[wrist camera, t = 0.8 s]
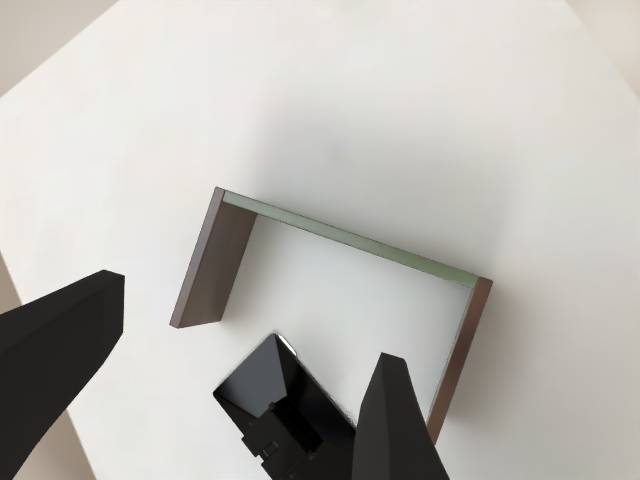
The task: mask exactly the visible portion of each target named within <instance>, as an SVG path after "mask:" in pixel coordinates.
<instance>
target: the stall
mask: <svg viewBox="0 0 640 480" xmlns="http://www.w3.org/2000/svg"><path fill="white" fill-rule="evenodd" d="M257 214H260V215H263V216H266V217H269V218H272V219H275V220H277V221H280V222H283V223H286V224H289V225H292V226H295V227H297V228H300V229H303V230H306V231H309V232H312V233H315V234H317V235H320V236H323V237H326V238H329V239H332V240H335V241H337V242H340V243H343V244H346V245H349V246H352V247H355V248H357V249H360V250H363V251H366V252H369V253H372V254H375V255H377V256H380V257H383V258H386V259H389V260H392V261H395V262H398V263H400V264H403V265H406V266H409V267H412V268H415V269H418V270H420V271H423V272H426V273H429V274H432V275H435V276H438V277H440V278H443V279H446V280H449V281H452V282H455V283H458V284H460V285H463V286H466V287H469V288H472V291H471V294H470V297H469V300H468V303H467V306H466V308H465V311H464V314H463V317H462V320H461V323H460V325H459V328H458V331H457V334H456V337H455V340H454V342H453V345H452V348H451V351H450V354H449V357H448V359H447V362H446V365H445V368H444V371H443V373H442V376H441V379H440V382H439V385H438V388H437V390H436V393H435V396H434V399H433V402H432V405H431V407H430V410H429V414H428V417H427V421H426V426H427V429H428V432H429V434H430V437H431V439H432V441H433V444H434V445H435V444H436V442H437V439H438V436H439V433H440V430H441V428H442V425H443V422H444V419H445V416H446V414H447V411H448V408H449V405H450V402H451V399H452V397H453V394H454V391H455V388H456V385H457V383H458V380H459V377H460V374H461V371H462V368H463V366H464V363H465V360H466V357H467V354H468V351H469V349H470V346H471V343H472V340H473V337H474V335H475V332H476V329H477V326H478V323H479V320H480V318H481V315H482V312H483V309H484V306H485V303H486V301H487V298H488V295H489V292H490V289H491V287H492V284H493V281H492V280H489V279H486V278H483V277H479V276H477V275H474V274H471V273H468V272H466V271H463V270H460V269H457V268H454V267H451V266H448V265H445V264H442V263H439V262H436V261H433V260H430V259H427V258H424V257H422V256H419V255H416V254H413V253H410V252H407V251H404V250H401V249H398V248H395V247H392V246H389V245H386V244H383V243H380V242H378V241H375V240H372V239H369V238H366V237H363V236H360V235H357V234H354V233H351V232H348V231H345V230H342V229H339V228H336V227H334V226H331V225H328V224H325V223H322V222H319V221H316V220H313V219H310V218H307V217H304V216H301V215H298V214H295V213H292V212H290V211H287V210H284V209H281V208H278V207H275V206H272V205H269V204H266V203H263V202H260V201H257V200H254V199H251V198H248V197H246V196H243V195H240V194H237V193H234V192H231V191H228V190H225V189H222V188H219V187H215V190H214V193H213V196H212V199H211V202H210V205H209V208H208V211H207V214H206V217H205V220H204V223H203V226H202V229H201V232H200V235H199V238H198V241H197V243H196V246H195V249H194V252H193V255H192V258H191V261H190V264H189V267H188V270H187V273H186V276H185V279H184V282H183V285H182V288H181V291H180V294H179V297H178V300H177V303H176V306H175V309H174V312H173V315H172V317H171V320H170V323H169V325H171V326H173V327H175V328H178V329H179V328H185V327H190V326H196V325H201V324H207V323H212V322H218V321H221V318H222V315H223V312H224V309H225V306H226V303H227V300H228V297H229V294H230V291H231V288H232V286H233V283H234V280H235V277H236V274H237V271H238V268H239V265H240V262H241V259H242V256H243V253H244V250H245V247H246V244H247V241H248V239H249V236H250V233H251V230H252V227H253V224H254V221H255V218H256V215H257Z"/></svg>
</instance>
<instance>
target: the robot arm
mask: <svg viewBox="0 0 640 480" xmlns="http://www.w3.org/2000/svg"><path fill="white" fill-rule="evenodd" d="M124 283H125V276H124V275H121V274H117V273H114V272H111V271H107V270H101V271H99V272H96V273H94V274H92V275H90V276H87V277H85V278H83V279H81V280H79V281H76V282H74V283H72V284H70V285H68V286H66V287H63V288H61V289H59V290H57V291H55V292H52V293H50V294H48V295H46V296H43V297H41V298H39V299H37V300H34V301H32V302H30V303H28V304H25V305H23V306H20V307H18V308H15V309H13V310H10V311H8V312H5V313H3V314H0V480H12V479H13V478H14V476H15V475H16V474H17V472H18V471H19V469H20V468H21V466H22V465H23V463H24V462H25V460H26V459H27V457H28V456H29V455H30V453H31V452H32V450H33V449H34V447H35V446H36V445H37V443H38V442H39V441H40V439H41V438H42V437H43V436H44V434H45V433H46V432H47V430H48V429H49V428H50V427H51V426H52V424H53V423H54V422H55V421H56V420H57V418H58V417H59V416H60V415H61V414H62V412H63V411H64V410H65V409H66V408H67V407H68V405H69V404H70V403H71V402H72V401H73V400H74V398H75V397H76V396H77V395H78V394H79V392H80V391H81V390H82V389H83V388H84V387H85V385H86V384H87V383H88V382H89V380H90V379H91V378H92V377H93V376H94V374H95V373H96V372H97V371H98V370H99V368H100V367H101V366H102V365H103V363H104V362H105V360H106V359H107V357H108V356H109V354H110V353H111V351H112V350H113V348H114V346H115V345H116V343H117V342H118V340H119V338H120V337H121V335H122V333H123V319H124ZM352 480H450V479H449V477H448V475H447V473H446V470H445V468H444V466H443V464H442V462H441V460H440V457H439V455H438V453H437V451H436V448H435V446H434V444H433V441H432V439H431V437H430V434H429V432H428V429H427V426H426V424H425V421H424V418H423V416H422V413H421V410H420V407H419V404H418V401H417V398H416V395H415V392H414V389H413V386H412V382H411V379H410V375H409V371H408V368H407V363H406V362H405V360H404V359H403V358H399V357H396V356H393V355H389V354H386V353H383V352H381V355H380V357H379V360H378V363H377V365H376V368H375V370H374V373H373V375H372V378H371V381H370V383H369V386H368V388H367V391H366V393H365V396H364V399H363V401H362V404H361V408H360V413H359V419H358V424H357V430H356V435H355V441H354V454H353V468H352Z"/></svg>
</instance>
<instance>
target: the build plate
mask: <svg viewBox="0 0 640 480" xmlns="http://www.w3.org/2000/svg"><path fill="white" fill-rule="evenodd" d="M213 396H214V397H215V399H216V400H217V401H218V402H219V404H220V405H221V406H222V408H223V409H224V410H225V412H226V413H227V414H228V415H229V417H230V418H231V419H232V421H233V422H234V423H235V424H236V426H237V427H238V428H239V430H240V431H241V432H242V433H243V435H244V437H243V438H242V439H241V440H242V441H243V442H244V444H245V445H246V446H247V448H248V449H249V450H250V452H251V453H252V454H253V455H254V457H257V456H258V455H260V457H261V458H262V459H263V460H264V462H263V463H262V464H261V466H262V467H263V468H264V470H265V471H266V472H267V474H268V475H269V476H270V477H271V479H272V480H352V468H353V454H354V441H355V435H356V430H357V429H356V428H355V427H354V425H353V424H352V423H351V422H350V421H349V420H348V418H347V417H346V416H345V415H344V414H343V412H342V411H341V410H340V409H339V408H338V407H337V405H336V404H335V403H334V402H333V401H332V400H331V398H330V397H329V396H328V395H327V394H326V393H325V391H324V390H323V389H322V388H321V387H320V385H319V384H318V383H317V382H316V381H315V380H314V378H313V377H312V376H311V375H310V374H309V373H308V371H307V370H306V369H305V368H304V367H303V365H302V364H301V363H300V362H299V361H298V360H297V356H296V352H295V351H294V350H293V348H292V347H291V346H290V345H289V344H288V343H287V341H286V340H285V339H284V338H283V337H282V336H279V335H276V334H271V335H270V336H269V337H268V338H267V339H266V340H265V341H264V342H263V343H262V344H261V345H260V346H259V347H258V348H257V349H256V350H255V351H254V352H253V353H252V354H251V355H250V356H249V357H248V358H247V359H246V360H245V361H244V362H243V363H242V364H241V365H240V366H239V367H238V368H237V369H236V370H235V371H234V372H233V373H232V374H231V375H230V376H229V377H228V378H227V379H226V380H225V381H224V382H223V383H222V384H221V385H220V386H219V387H218V388H217V389H216V390H215V391H214V392H213Z"/></svg>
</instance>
